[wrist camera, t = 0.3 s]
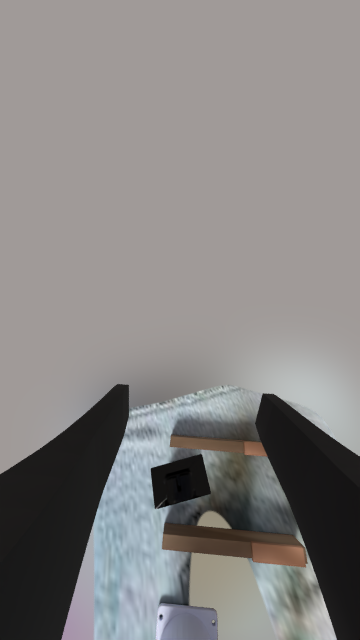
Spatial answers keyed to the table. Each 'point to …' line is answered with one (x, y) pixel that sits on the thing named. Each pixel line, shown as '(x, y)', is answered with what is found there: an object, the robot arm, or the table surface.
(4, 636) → the robot arm
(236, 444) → the walled channel
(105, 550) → the table surface
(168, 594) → the table surface
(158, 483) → the black piece
